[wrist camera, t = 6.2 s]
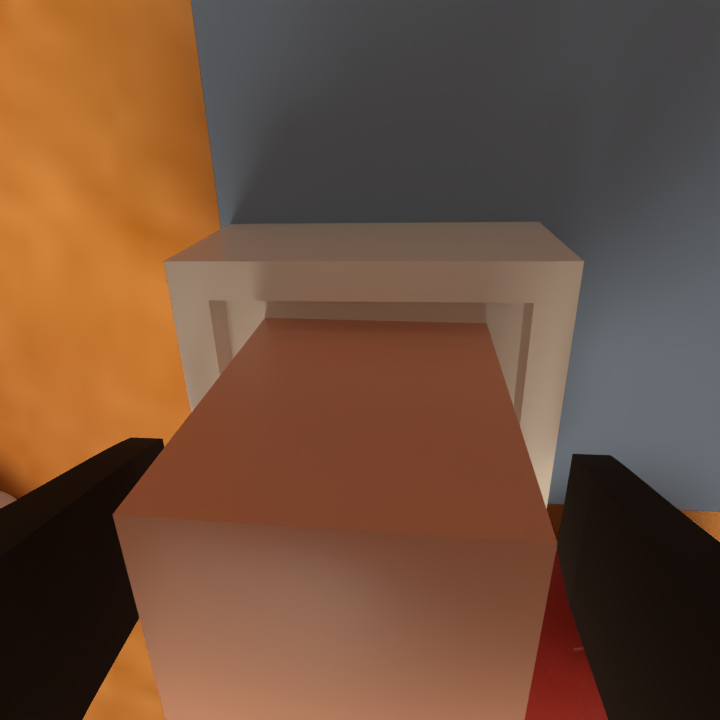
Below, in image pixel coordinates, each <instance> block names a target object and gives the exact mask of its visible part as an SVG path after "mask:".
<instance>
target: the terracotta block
mask: <svg viewBox="0 0 720 720" xmlns="http://www.w3.org/2000/svg"><path fill="white" fill-rule="evenodd" d="M113 519H114V522H115V526H116V530H117V534H118V538H119V542H120V545H121V549H122V553H123V557H124V561H125V565H126V569H127V572H128V576H129V580H130V584H131V588H132V592H133V595H134V599H135V603H136V607H137V611H138V615H139V619H140V622H141V626H142V630H143V634H144V638H145V642H146V645H147V649H148V653H149V657H150V661H151V665H152V669H153V672H154V676H155V680H156V684H157V688H158V692H159V695H160V699H161V703H162V707H163V711H164V715H165V719H166V720H525V714H526V709H527V704H528V698H529V693H530V688H531V682H532V677H533V672H534V666H535V661H536V656H537V650H538V645H539V640H540V634H541V629H542V623H543V618H544V613H545V607H546V602H547V597H548V591H549V586H550V581H551V575H552V570H553V565H554V559H555V554H556V548H557V540H556V537H555V534H554V531H553V528H552V525H551V521H550V518H549V515H548V512H547V509H546V506H545V503H544V500H543V497H542V494H541V490H540V487H539V484H538V481H537V478H536V475H535V472H534V469H533V466H532V463H531V459H530V456H529V453H528V450H527V447H526V444H525V441H524V438H523V435H522V432H521V428H520V425H519V422H518V419H517V416H516V413H515V410H514V407H513V404H512V401H511V397H510V394H509V391H508V388H507V385H506V382H505V379H504V376H503V373H502V370H501V366H500V363H499V360H498V357H497V354H496V351H495V348H494V345H493V342H492V339H491V335H490V332H489V329H488V326H487V323H452V322H412V321H372V320H332V319H292V318H264V320H263V321H262V322H261V323H260V325H259V326H258V327H257V329H256V330H255V331H254V332H253V334H252V335H251V336H250V338H249V339H248V340H247V341H246V343H245V344H244V345H243V347H242V348H241V349H240V351H239V352H238V353H237V354H236V356H235V357H234V358H233V360H232V361H231V362H230V363H229V365H228V366H227V367H226V369H225V370H224V371H223V372H222V374H221V375H220V376H219V378H218V379H217V380H216V382H215V383H214V384H213V385H212V387H211V388H210V389H209V391H208V392H207V393H206V394H205V396H204V397H203V398H202V400H201V401H200V402H199V404H198V405H197V406H196V407H195V409H194V410H193V411H192V413H191V414H190V415H189V416H188V418H187V419H186V420H185V422H184V423H183V424H182V425H181V427H180V428H179V429H178V431H177V432H176V433H175V435H174V436H173V437H172V438H171V440H170V441H169V442H168V444H167V445H166V446H165V447H164V449H163V450H162V451H161V453H160V454H159V455H158V456H157V458H156V459H155V460H154V462H153V463H152V464H151V466H150V467H149V468H148V469H147V471H146V472H145V473H144V475H143V476H142V477H141V478H140V480H139V481H138V482H137V484H136V485H135V486H134V488H133V489H132V490H131V491H130V493H129V494H128V495H127V497H126V498H125V499H124V500H123V502H122V503H121V504H120V506H119V507H118V508H117V509H116V511H115V512H114V513H113Z"/></svg>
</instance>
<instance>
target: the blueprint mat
mask: <svg viewBox="0 0 720 720" xmlns="http://www.w3.org/2000/svg"><path fill="white" fill-rule="evenodd" d="M191 5H192V12H193V20H194V27H195V35H196V43H197V50H198V58H199V65H200V73H201V80H202V88H203V96H204V103H205V111H206V118H207V126H208V133H209V141H210V149H211V156H212V164H213V171H214V179H215V186H216V194H217V202H218V209H219V217H220V224H221V229H222V228H224V227H226V226H228V225H229V224H299V223H433V222H540V223H541V224H542V225H543V226H544V227H546V228H547V229H548V230H549V231H550V232H551V233H552V234H554V235H555V236H556V237H557V238H558V239H559V240H560V241H561V242H563V243H564V244H565V245H566V246H567V247H568V248H569V249H571V250H572V251H573V252H574V253H575V254H576V255H577V256H579V257H580V258H581V259H582V260H583V261H584V266H583V272H582V279H581V286H580V292H579V299H578V305H577V312H576V319H575V325H574V332H573V338H572V345H571V352H570V358H569V365H568V371H567V378H566V385H565V391H564V398H563V405H562V411H561V418H560V424H559V431H558V438H557V444H556V451H555V457H554V464H553V471H552V477H551V484H550V490H549V497H548V504H563V505H564V502H565V496H566V490H567V484H568V478H569V472H570V466H571V460H572V454H593V455H611V456H613V457H614V458H615V459H617V460H618V461H619V462H621V463H622V464H623V465H624V466H626V467H627V468H628V469H629V470H631V471H632V472H633V473H634V474H636V475H637V476H638V477H639V478H640V479H642V480H643V481H644V482H645V483H647V484H648V485H649V486H650V487H651V488H653V489H654V490H655V491H656V492H657V493H659V494H660V495H661V496H662V497H664V498H665V499H666V500H667V501H668V502H670V503H671V504H672V505H673V506H675V507H676V508H677V509H678V510H693V511H715V512H720V0H191Z"/></svg>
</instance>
